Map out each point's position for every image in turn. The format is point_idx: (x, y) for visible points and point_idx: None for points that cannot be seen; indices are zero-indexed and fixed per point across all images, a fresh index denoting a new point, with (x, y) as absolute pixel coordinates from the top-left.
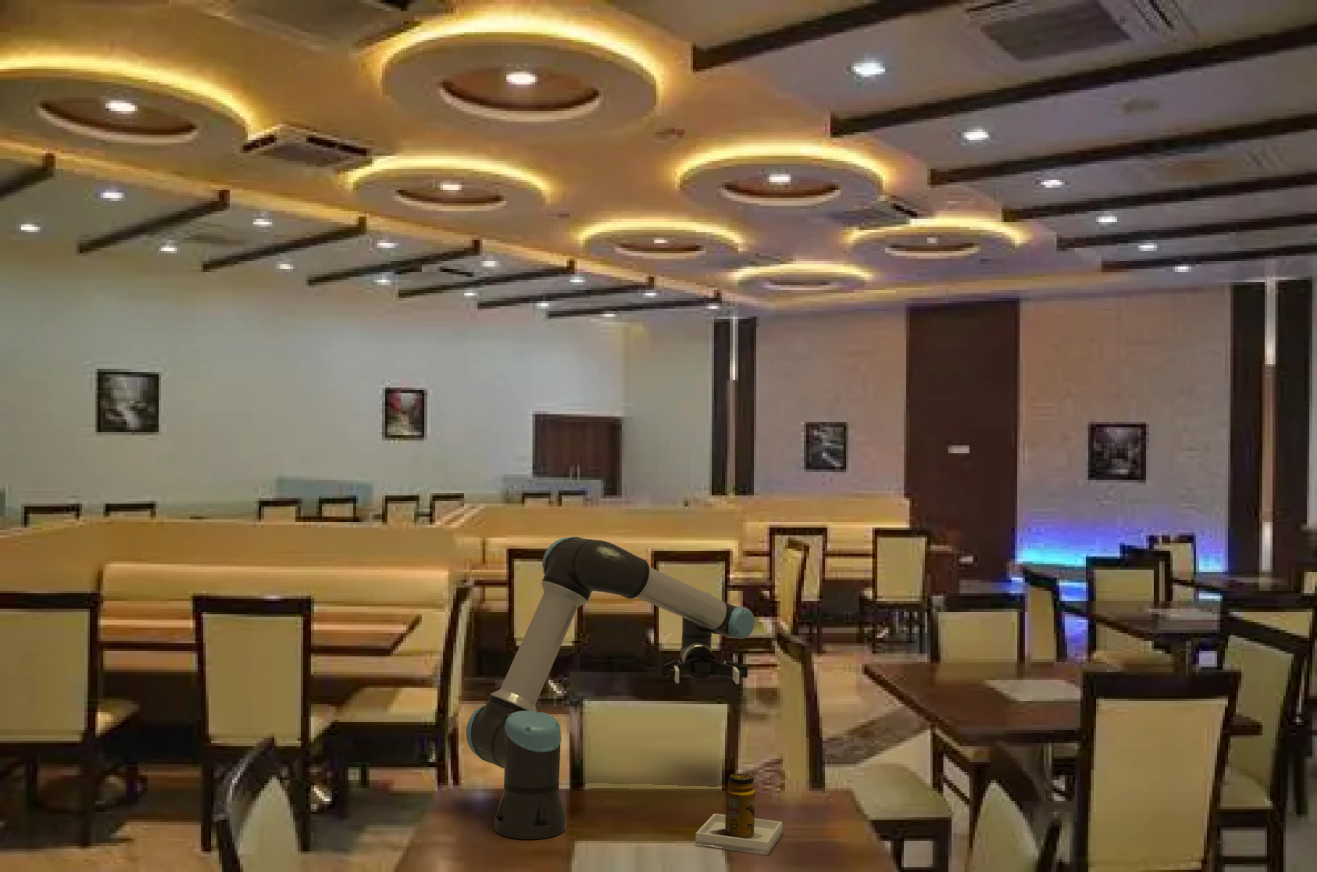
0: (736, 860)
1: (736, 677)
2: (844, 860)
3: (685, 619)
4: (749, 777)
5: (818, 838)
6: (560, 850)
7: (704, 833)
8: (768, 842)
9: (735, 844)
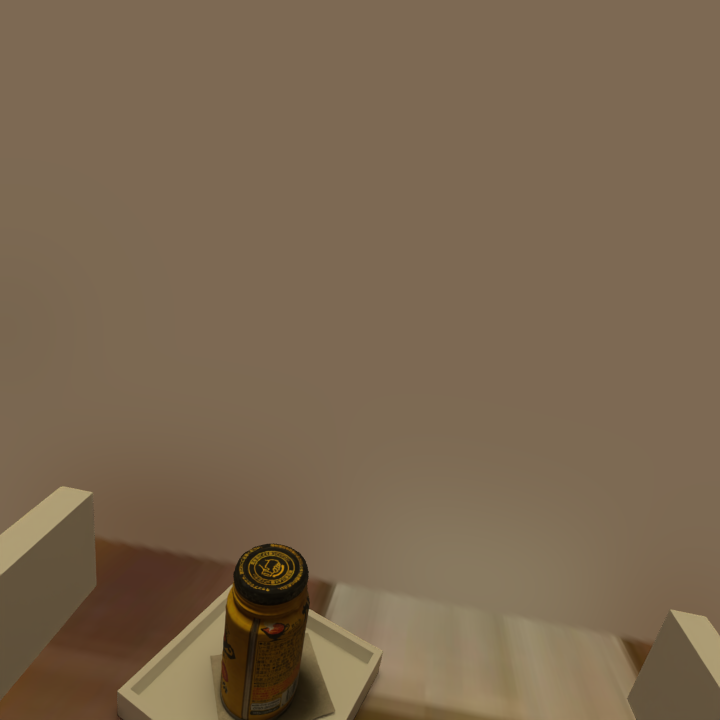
0: (314, 582)
1: (89, 536)
2: (115, 545)
3: None
4: (250, 559)
5: (50, 662)
6: None
7: (363, 644)
8: None
9: None
